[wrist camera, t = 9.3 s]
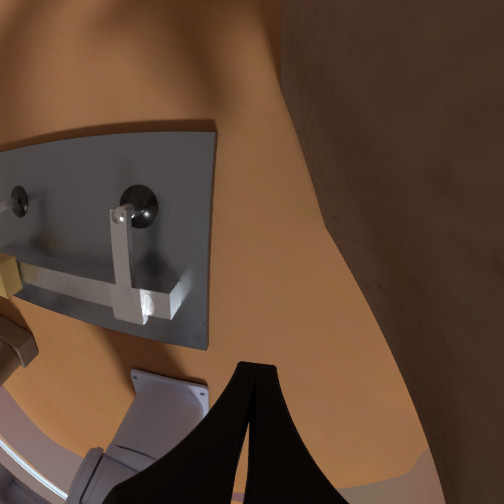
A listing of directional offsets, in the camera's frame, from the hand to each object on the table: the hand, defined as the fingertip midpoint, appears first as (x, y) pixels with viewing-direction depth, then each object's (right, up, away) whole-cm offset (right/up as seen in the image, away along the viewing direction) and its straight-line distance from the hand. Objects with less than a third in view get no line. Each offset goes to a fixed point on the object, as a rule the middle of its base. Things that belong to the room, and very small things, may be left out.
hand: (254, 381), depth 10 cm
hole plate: (-16, +6, +10) cm, 20 cm away
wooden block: (+8, +12, +6) cm, 15 cm away
